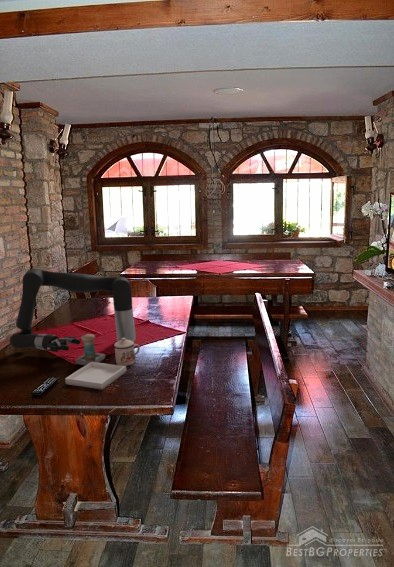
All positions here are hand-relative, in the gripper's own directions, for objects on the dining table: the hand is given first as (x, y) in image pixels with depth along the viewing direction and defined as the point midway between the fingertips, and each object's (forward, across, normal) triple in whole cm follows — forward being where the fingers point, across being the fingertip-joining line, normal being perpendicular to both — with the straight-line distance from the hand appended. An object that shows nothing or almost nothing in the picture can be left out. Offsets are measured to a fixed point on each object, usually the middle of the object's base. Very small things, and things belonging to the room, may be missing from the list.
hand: (74, 345), depth 211 cm
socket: (+8, 0, +7) cm, 11 cm away
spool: (+8, 0, +7) cm, 11 cm away
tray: (+22, -15, +7) cm, 28 cm away
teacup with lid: (+26, +4, +7) cm, 28 cm away
